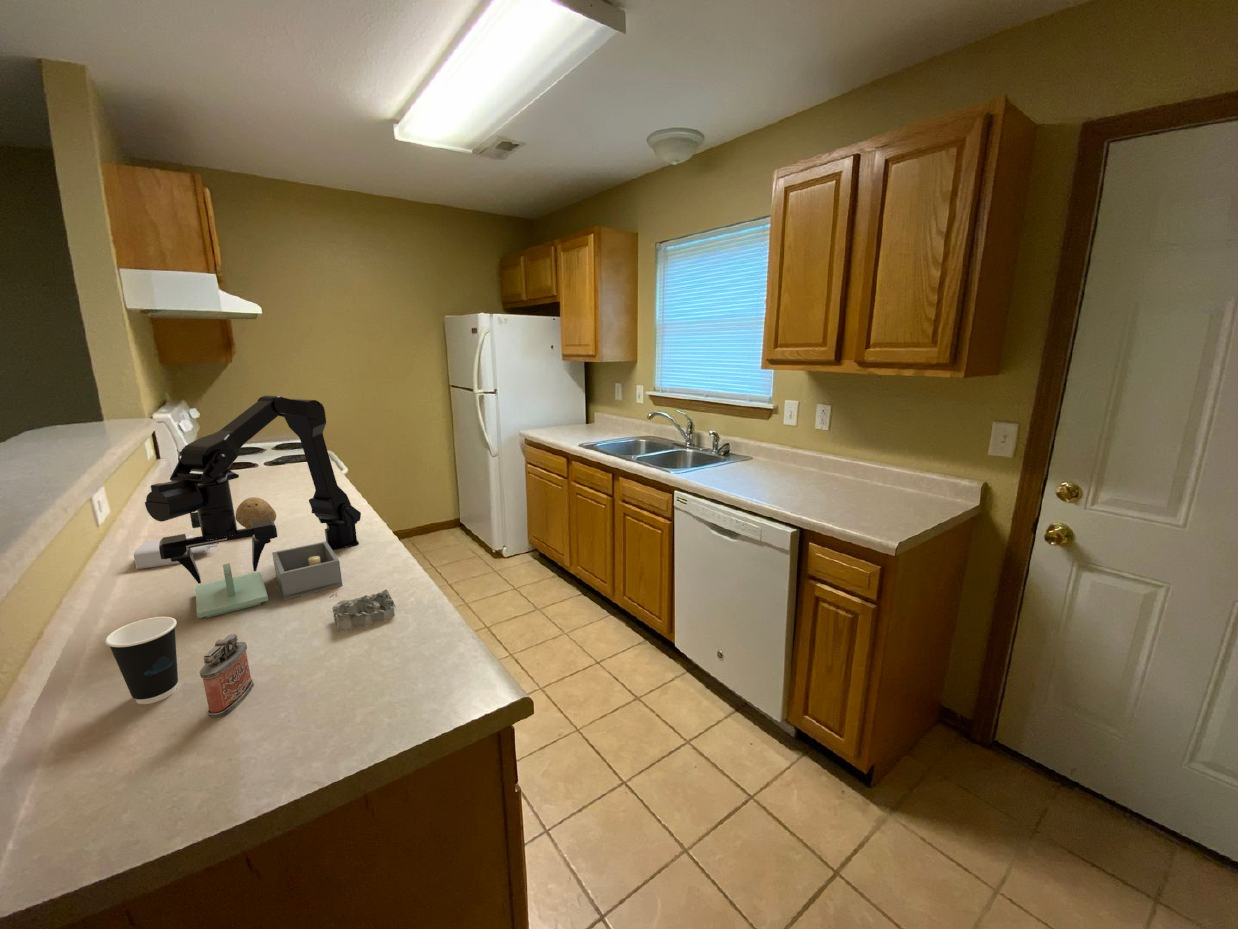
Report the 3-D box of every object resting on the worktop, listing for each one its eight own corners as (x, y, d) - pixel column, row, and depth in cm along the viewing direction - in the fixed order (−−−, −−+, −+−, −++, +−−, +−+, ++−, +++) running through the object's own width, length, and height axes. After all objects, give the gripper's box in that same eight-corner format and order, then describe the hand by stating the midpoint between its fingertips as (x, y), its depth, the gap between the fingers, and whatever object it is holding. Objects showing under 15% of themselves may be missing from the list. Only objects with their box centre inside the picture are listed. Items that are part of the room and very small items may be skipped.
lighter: (237, 683, 82) (226, 627, 80) (259, 682, 83) (249, 626, 80) (202, 719, 75) (189, 658, 72) (226, 718, 75) (214, 657, 73)
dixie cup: (171, 707, 77) (156, 641, 74) (107, 715, 75) (90, 648, 73) (200, 674, 85) (187, 613, 82) (143, 681, 83) (128, 619, 80)
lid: (261, 579, 118) (256, 551, 116) (269, 604, 107) (263, 573, 105) (197, 594, 111) (191, 564, 109) (198, 622, 100) (191, 589, 98)
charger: (215, 560, 128) (136, 571, 122) (224, 546, 136) (150, 556, 130) (212, 542, 127) (132, 552, 121) (221, 530, 135) (147, 538, 129)
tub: (329, 564, 126) (326, 541, 124) (342, 585, 115) (339, 560, 114) (275, 576, 119) (272, 552, 118) (284, 600, 109) (280, 574, 107)
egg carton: (336, 636, 96) (334, 616, 95) (332, 618, 102) (330, 599, 101) (397, 620, 102) (395, 601, 101) (390, 603, 108) (388, 585, 107)
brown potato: (230, 534, 144) (224, 499, 142) (262, 523, 152) (256, 491, 150) (251, 538, 141) (246, 504, 139) (283, 528, 149) (278, 495, 147)
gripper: (266, 488, 115) (276, 553, 119) (155, 503, 104) (170, 575, 108) (272, 500, 107) (282, 569, 111) (152, 518, 96) (168, 595, 99)
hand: (228, 576), depth 107 cm, fingers open, 9 cm apart
